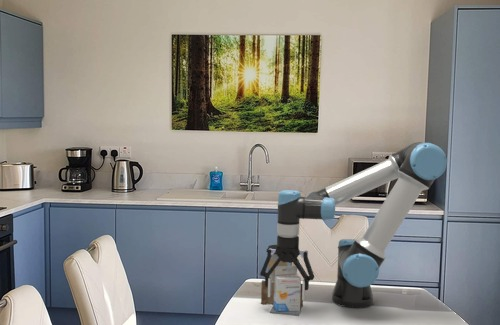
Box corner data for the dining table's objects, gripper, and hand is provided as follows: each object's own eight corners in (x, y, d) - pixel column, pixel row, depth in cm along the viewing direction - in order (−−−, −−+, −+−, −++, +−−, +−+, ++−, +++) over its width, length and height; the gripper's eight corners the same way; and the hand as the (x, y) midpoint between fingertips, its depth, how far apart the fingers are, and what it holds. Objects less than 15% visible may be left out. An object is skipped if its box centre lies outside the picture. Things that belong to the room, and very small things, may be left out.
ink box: (276, 312, 185) (277, 269, 184) (273, 307, 190) (274, 265, 189) (300, 311, 187) (301, 268, 186) (296, 306, 192) (297, 265, 191)
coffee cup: (286, 287, 216) (287, 250, 215) (263, 285, 218) (264, 248, 217) (290, 280, 225) (290, 245, 224) (267, 279, 227) (268, 243, 226)
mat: (301, 308, 191) (302, 306, 191) (298, 315, 183) (298, 314, 183) (274, 305, 193) (274, 304, 193) (269, 312, 186) (269, 311, 186)
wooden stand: (303, 304, 195) (303, 283, 194) (302, 308, 191) (302, 285, 191) (262, 300, 198) (263, 279, 198) (260, 304, 195) (261, 282, 194)
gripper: (323, 235, 188) (321, 297, 189) (256, 231, 193) (255, 291, 194) (321, 239, 180) (319, 304, 182) (252, 235, 186) (250, 297, 187)
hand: (286, 297), depth 188 cm, fingers open, 11 cm apart
